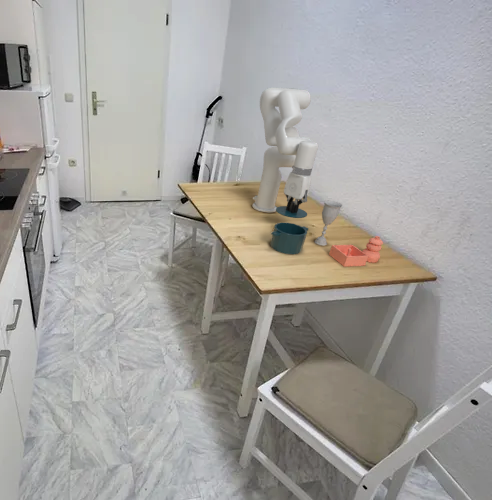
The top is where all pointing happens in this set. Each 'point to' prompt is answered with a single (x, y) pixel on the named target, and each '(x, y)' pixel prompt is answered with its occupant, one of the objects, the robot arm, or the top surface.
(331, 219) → the chalice
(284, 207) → the lid
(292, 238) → the pot
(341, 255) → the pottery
